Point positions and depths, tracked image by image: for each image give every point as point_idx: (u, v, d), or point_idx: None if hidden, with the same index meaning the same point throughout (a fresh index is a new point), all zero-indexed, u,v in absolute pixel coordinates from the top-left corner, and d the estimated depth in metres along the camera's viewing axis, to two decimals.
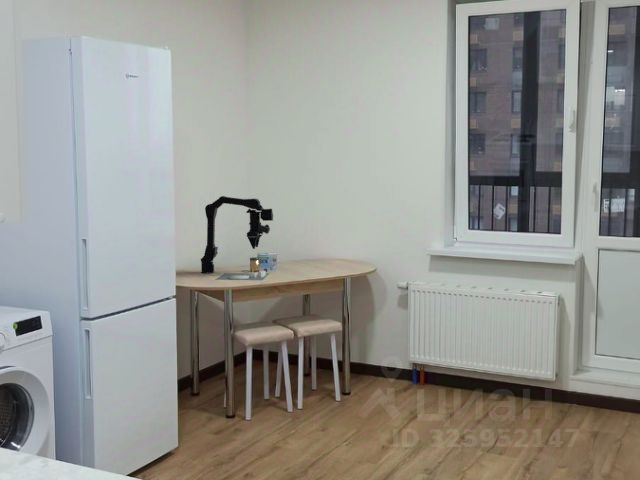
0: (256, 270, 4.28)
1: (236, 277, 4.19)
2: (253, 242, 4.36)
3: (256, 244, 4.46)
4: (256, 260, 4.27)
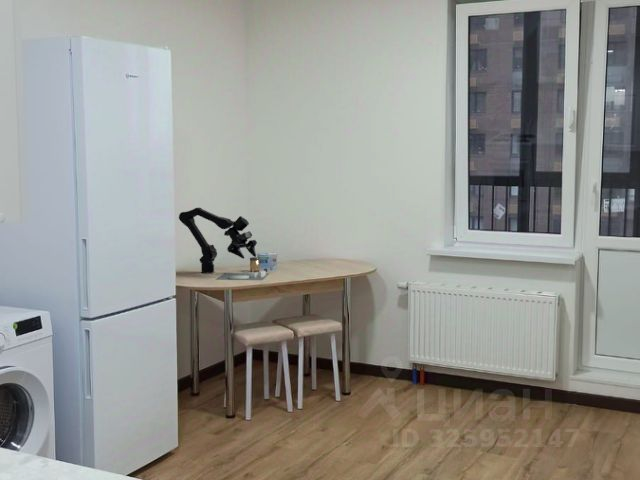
0: (256, 270, 4.28)
1: (236, 277, 4.19)
2: (239, 253, 4.29)
3: (253, 254, 4.36)
4: (256, 260, 4.27)
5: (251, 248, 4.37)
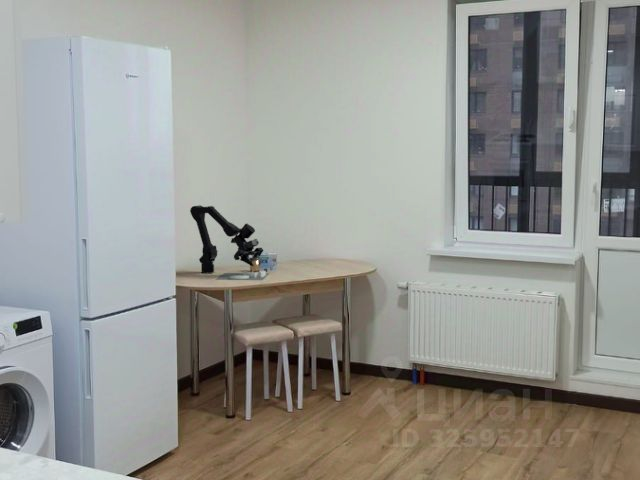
0: (256, 270, 4.28)
1: (236, 277, 4.19)
2: (248, 260, 4.27)
3: None
4: (256, 260, 4.27)
5: (255, 256, 4.33)
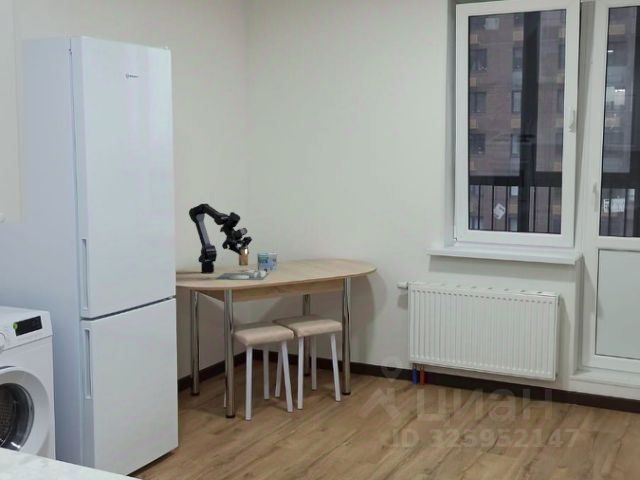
0: (245, 259, 4.21)
1: (236, 277, 4.19)
2: (236, 249, 4.20)
3: None
4: (245, 249, 4.21)
5: (244, 245, 4.26)
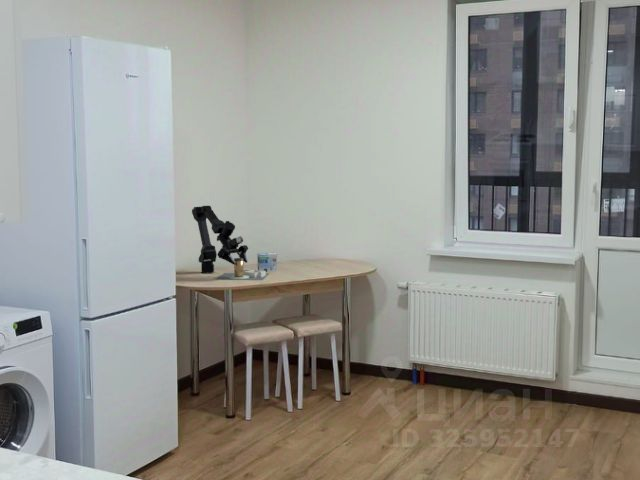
0: (240, 271, 4.20)
1: (236, 277, 4.19)
2: (229, 258, 4.17)
3: (245, 260, 4.24)
4: (240, 261, 4.19)
5: (242, 254, 4.26)
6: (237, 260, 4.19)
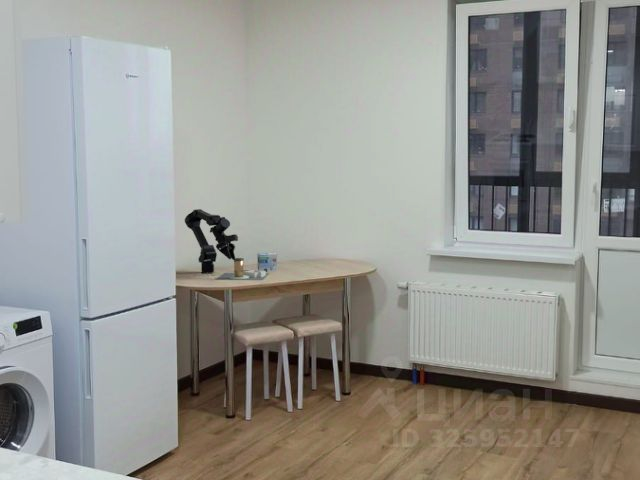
0: (240, 271, 4.20)
1: (236, 277, 4.19)
2: (226, 252, 4.26)
3: (233, 258, 4.36)
4: (240, 261, 4.19)
5: (231, 251, 4.37)
6: (237, 260, 4.19)
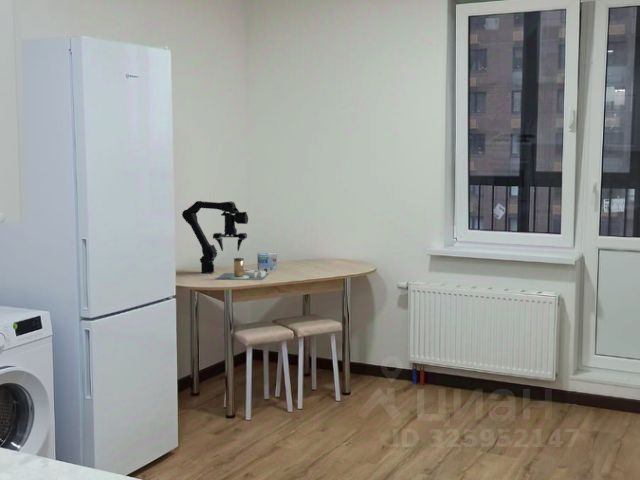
0: (240, 271, 4.20)
1: (236, 277, 4.19)
2: (240, 244, 4.40)
3: (222, 248, 4.41)
4: (240, 261, 4.19)
5: (221, 241, 4.42)
6: (237, 260, 4.19)
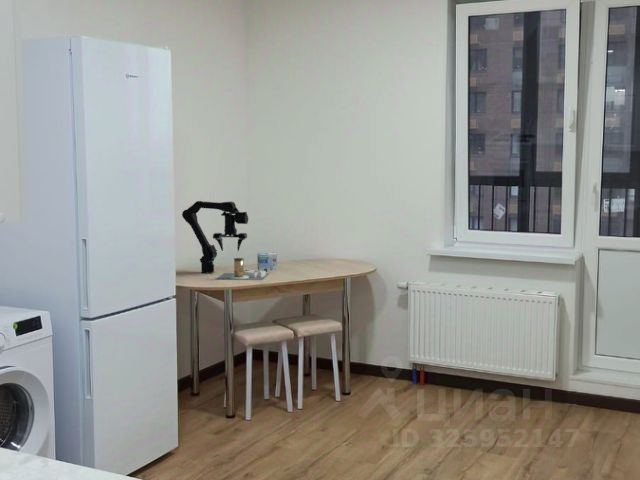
0: (240, 271, 4.20)
1: (236, 277, 4.19)
2: (240, 244, 4.41)
3: (222, 248, 4.42)
4: (240, 261, 4.19)
5: (221, 241, 4.42)
6: (237, 260, 4.19)
